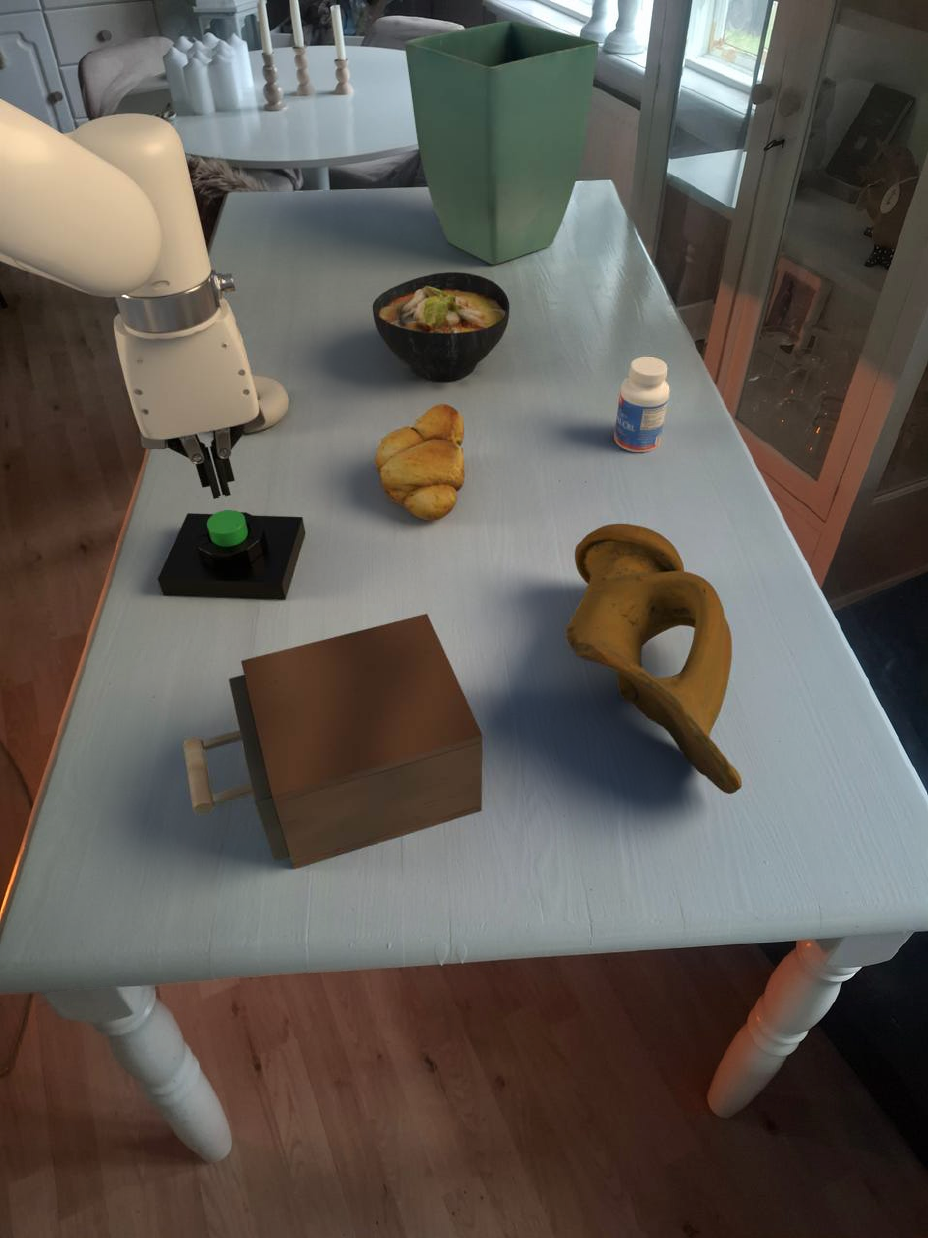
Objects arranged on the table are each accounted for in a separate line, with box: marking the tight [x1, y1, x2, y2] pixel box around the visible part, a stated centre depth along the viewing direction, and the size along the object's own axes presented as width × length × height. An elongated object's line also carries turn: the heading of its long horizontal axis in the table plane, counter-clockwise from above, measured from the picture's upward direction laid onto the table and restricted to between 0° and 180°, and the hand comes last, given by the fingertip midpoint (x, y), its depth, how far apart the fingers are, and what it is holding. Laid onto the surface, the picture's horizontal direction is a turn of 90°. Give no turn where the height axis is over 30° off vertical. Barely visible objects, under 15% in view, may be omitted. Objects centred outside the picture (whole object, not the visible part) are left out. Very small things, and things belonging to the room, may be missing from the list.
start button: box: [207, 509, 248, 547], centre depth 83 cm, size 4×4×2 cm
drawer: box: [182, 674, 290, 862], centre depth 64 cm, size 18×11×8 cm, turn 109°
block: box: [156, 511, 306, 601], centre depth 85 cm, size 12×10×4 cm
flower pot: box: [404, 20, 600, 266], centre depth 131 cm, size 20×20×28 cm
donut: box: [244, 374, 290, 434], centre depth 104 cm, size 10×4×10 cm
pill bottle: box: [613, 356, 670, 453], centre depth 97 cm, size 6×5×10 cm
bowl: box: [372, 271, 511, 383], centre depth 110 cm, size 17×17×10 cm
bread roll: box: [374, 403, 465, 521], centre depth 91 cm, size 13×10×8 cm
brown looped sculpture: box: [565, 523, 743, 795], centre depth 70 cm, size 18×13×22 cm
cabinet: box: [240, 613, 483, 870], centre depth 65 cm, size 15×13×10 cm
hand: (220, 488), depth 80 cm, fingers closed
